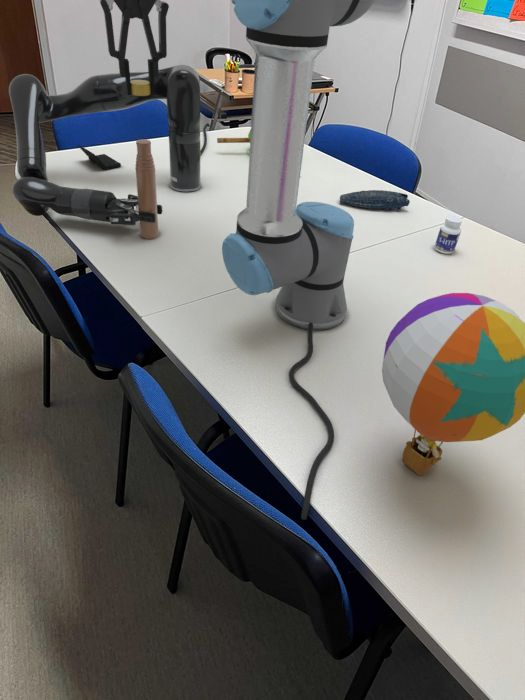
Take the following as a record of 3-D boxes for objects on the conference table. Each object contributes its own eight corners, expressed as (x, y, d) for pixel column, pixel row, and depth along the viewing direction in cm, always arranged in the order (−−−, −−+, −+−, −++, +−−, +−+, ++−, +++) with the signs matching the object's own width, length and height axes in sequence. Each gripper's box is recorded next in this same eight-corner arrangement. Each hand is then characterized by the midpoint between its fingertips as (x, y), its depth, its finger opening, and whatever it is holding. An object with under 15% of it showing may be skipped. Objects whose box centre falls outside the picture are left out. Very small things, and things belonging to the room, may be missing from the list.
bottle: (155, 229, 137) (149, 137, 123) (161, 237, 134) (156, 143, 119) (138, 232, 135) (130, 139, 121) (144, 240, 132) (136, 145, 118)
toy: (329, 455, 81) (367, 293, 62) (405, 402, 92) (457, 251, 73) (434, 545, 70) (518, 382, 52) (506, 474, 81) (598, 317, 62)
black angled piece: (125, 159, 170) (105, 137, 162) (114, 177, 169) (93, 156, 161) (104, 155, 177) (83, 134, 168) (93, 172, 175) (71, 152, 167)
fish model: (408, 214, 157) (412, 198, 153) (339, 207, 158) (341, 191, 154) (406, 206, 162) (410, 190, 159) (339, 199, 163) (341, 183, 160)
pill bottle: (433, 251, 139) (442, 220, 133) (435, 243, 143) (444, 213, 137) (453, 256, 138) (464, 225, 132) (454, 247, 142) (465, 217, 136)
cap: (126, 93, 112) (125, 82, 111) (136, 89, 116) (136, 78, 114) (144, 97, 111) (143, 85, 110) (154, 93, 115) (154, 81, 113)
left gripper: (106, 207, 140) (167, 216, 139) (83, 230, 129) (150, 240, 127) (103, 180, 135) (166, 189, 134) (79, 201, 124) (148, 211, 123)
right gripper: (173, -38, 104) (176, 89, 119) (82, -44, 99) (98, 89, 114) (180, -35, 99) (183, 98, 113) (85, -42, 94) (100, 98, 108)
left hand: (158, 214), depth 131 cm, fingers closed on bottle, 4 cm apart
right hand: (140, 93), depth 114 cm, fingers closed on cap, 4 cm apart
